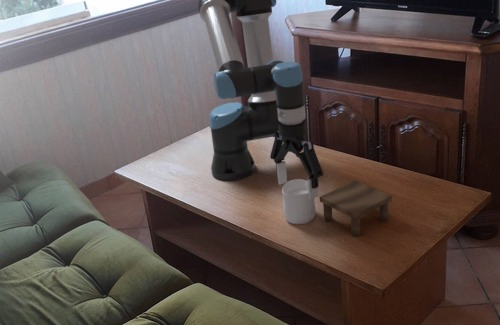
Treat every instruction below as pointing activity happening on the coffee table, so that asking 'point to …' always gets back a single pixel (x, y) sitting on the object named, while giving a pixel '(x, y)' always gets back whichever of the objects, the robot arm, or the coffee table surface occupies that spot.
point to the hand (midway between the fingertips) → (297, 190)
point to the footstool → (355, 203)
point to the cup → (297, 202)
